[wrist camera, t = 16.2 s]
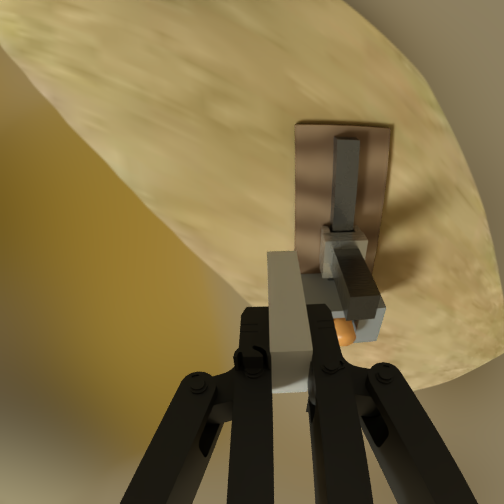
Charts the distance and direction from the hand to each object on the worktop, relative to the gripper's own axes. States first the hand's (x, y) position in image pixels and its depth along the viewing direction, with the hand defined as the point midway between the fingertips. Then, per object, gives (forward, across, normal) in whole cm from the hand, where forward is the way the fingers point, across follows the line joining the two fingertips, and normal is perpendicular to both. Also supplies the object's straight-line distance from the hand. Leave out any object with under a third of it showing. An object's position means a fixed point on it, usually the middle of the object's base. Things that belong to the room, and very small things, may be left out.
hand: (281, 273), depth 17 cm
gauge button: (+23, +10, -23) cm, 34 cm away
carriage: (+27, +10, -14) cm, 32 cm away
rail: (+27, +10, -9) cm, 30 cm away
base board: (+27, +10, -12) cm, 32 cm away
